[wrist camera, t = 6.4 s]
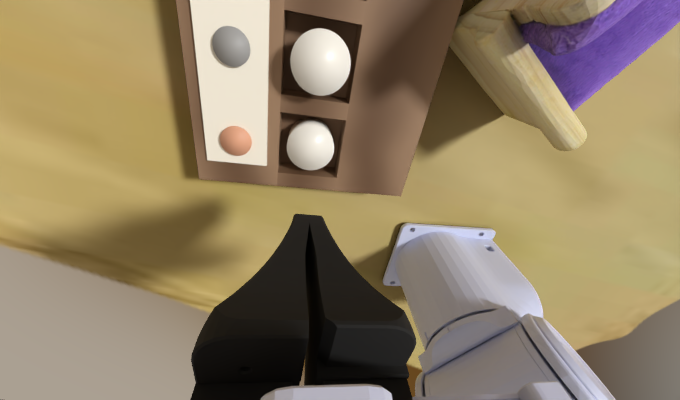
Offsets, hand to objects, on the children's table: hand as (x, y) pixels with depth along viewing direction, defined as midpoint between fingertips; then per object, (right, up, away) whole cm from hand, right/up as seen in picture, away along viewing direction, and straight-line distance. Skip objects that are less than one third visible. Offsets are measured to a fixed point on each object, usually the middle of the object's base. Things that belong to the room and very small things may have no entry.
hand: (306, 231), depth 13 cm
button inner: (0, +6, +5) cm, 8 cm away
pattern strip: (-4, +9, +1) cm, 10 cm away
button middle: (+1, +9, +2) cm, 9 cm away
